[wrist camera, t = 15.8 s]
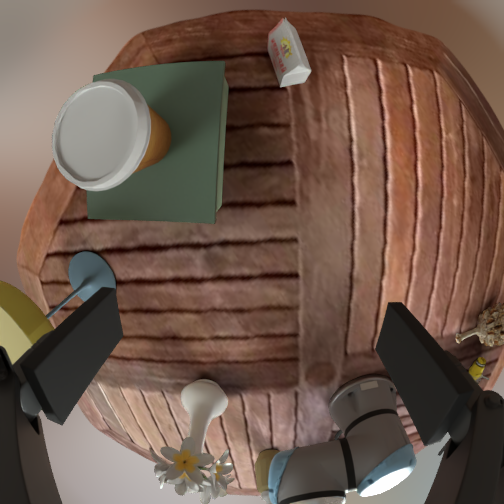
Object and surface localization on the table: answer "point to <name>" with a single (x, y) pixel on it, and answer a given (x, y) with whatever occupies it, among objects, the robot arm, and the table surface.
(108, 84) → the disposable coffee cup
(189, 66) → the green lidded box
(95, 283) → the cocktail glass
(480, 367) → the sprinkler
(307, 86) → the table surface
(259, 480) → the squeeze bottle
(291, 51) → the white gable carton
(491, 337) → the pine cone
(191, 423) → the flower vase
